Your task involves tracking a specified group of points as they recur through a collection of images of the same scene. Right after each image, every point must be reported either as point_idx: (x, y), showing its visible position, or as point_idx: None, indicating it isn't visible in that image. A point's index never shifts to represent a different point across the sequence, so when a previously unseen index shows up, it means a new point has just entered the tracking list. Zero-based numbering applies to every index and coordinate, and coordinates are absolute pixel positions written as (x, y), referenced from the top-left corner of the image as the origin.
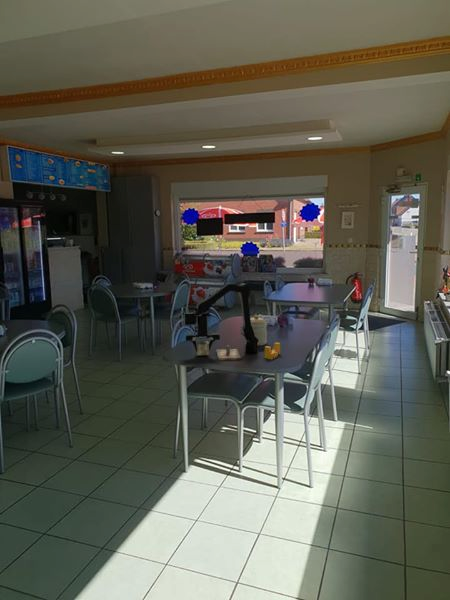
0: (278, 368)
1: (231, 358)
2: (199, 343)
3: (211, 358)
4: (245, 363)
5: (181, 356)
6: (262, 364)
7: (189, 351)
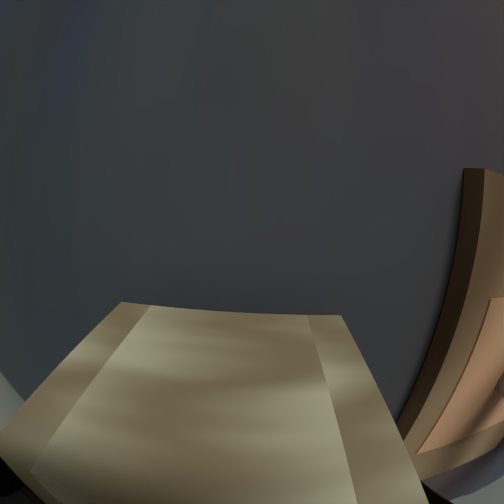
0: (498, 477)
1: (449, 467)
2: (95, 481)
3: None
4: (462, 477)
5: (7, 321)
6: (499, 464)
7: (50, 103)
